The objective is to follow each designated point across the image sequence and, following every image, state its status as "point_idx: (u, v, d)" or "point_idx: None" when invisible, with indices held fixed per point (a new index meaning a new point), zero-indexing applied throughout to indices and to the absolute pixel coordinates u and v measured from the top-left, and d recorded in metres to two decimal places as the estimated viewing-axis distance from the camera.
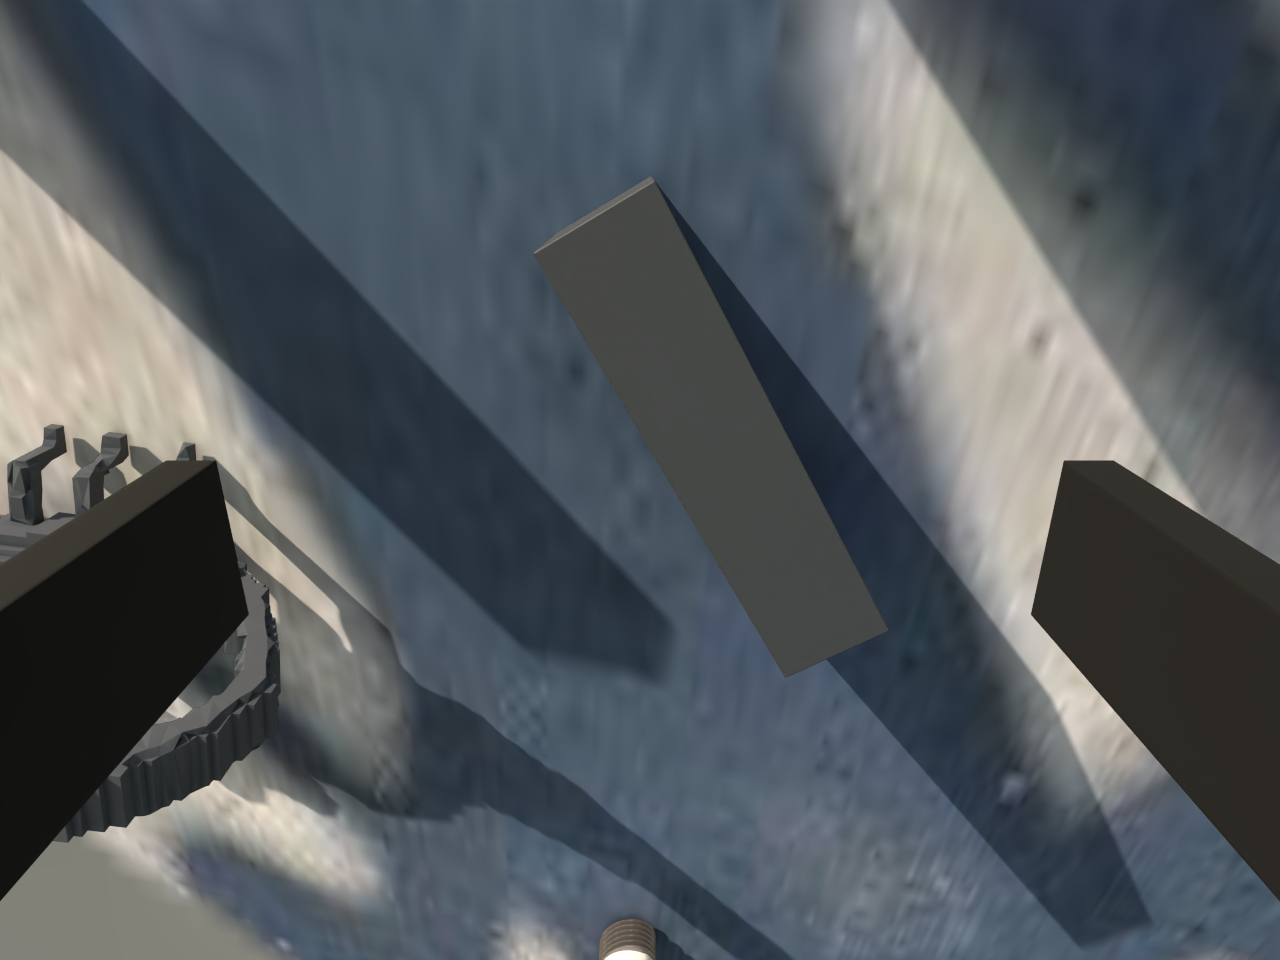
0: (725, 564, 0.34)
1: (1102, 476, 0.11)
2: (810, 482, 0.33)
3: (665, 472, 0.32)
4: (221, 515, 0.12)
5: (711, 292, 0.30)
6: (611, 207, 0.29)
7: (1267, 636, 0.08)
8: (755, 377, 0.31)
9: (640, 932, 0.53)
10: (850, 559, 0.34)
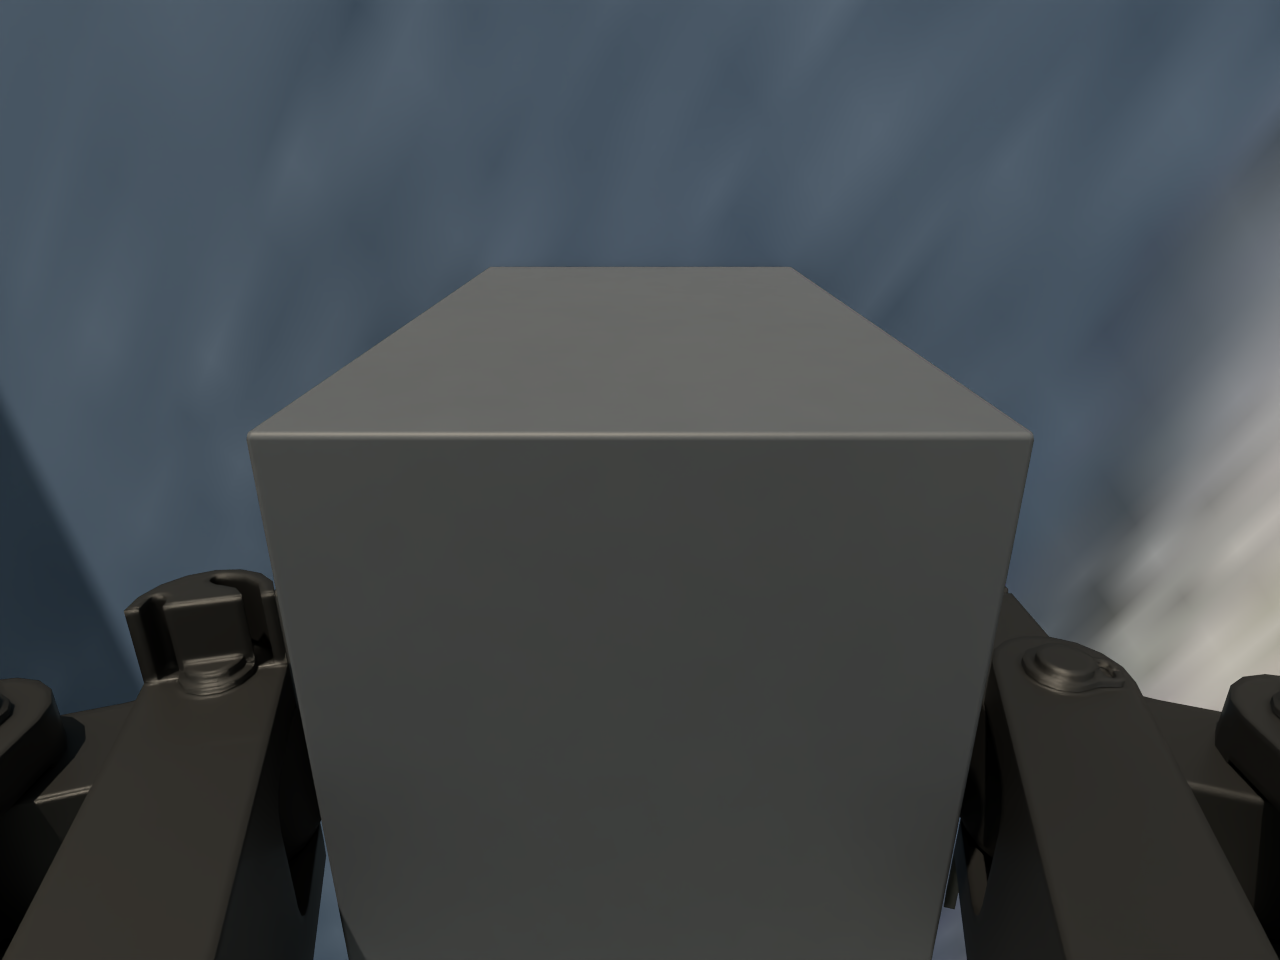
0: None
1: None
2: None
3: None
4: None
5: (932, 929, 0.07)
6: (758, 439, 0.05)
7: None
8: None
9: None
10: None
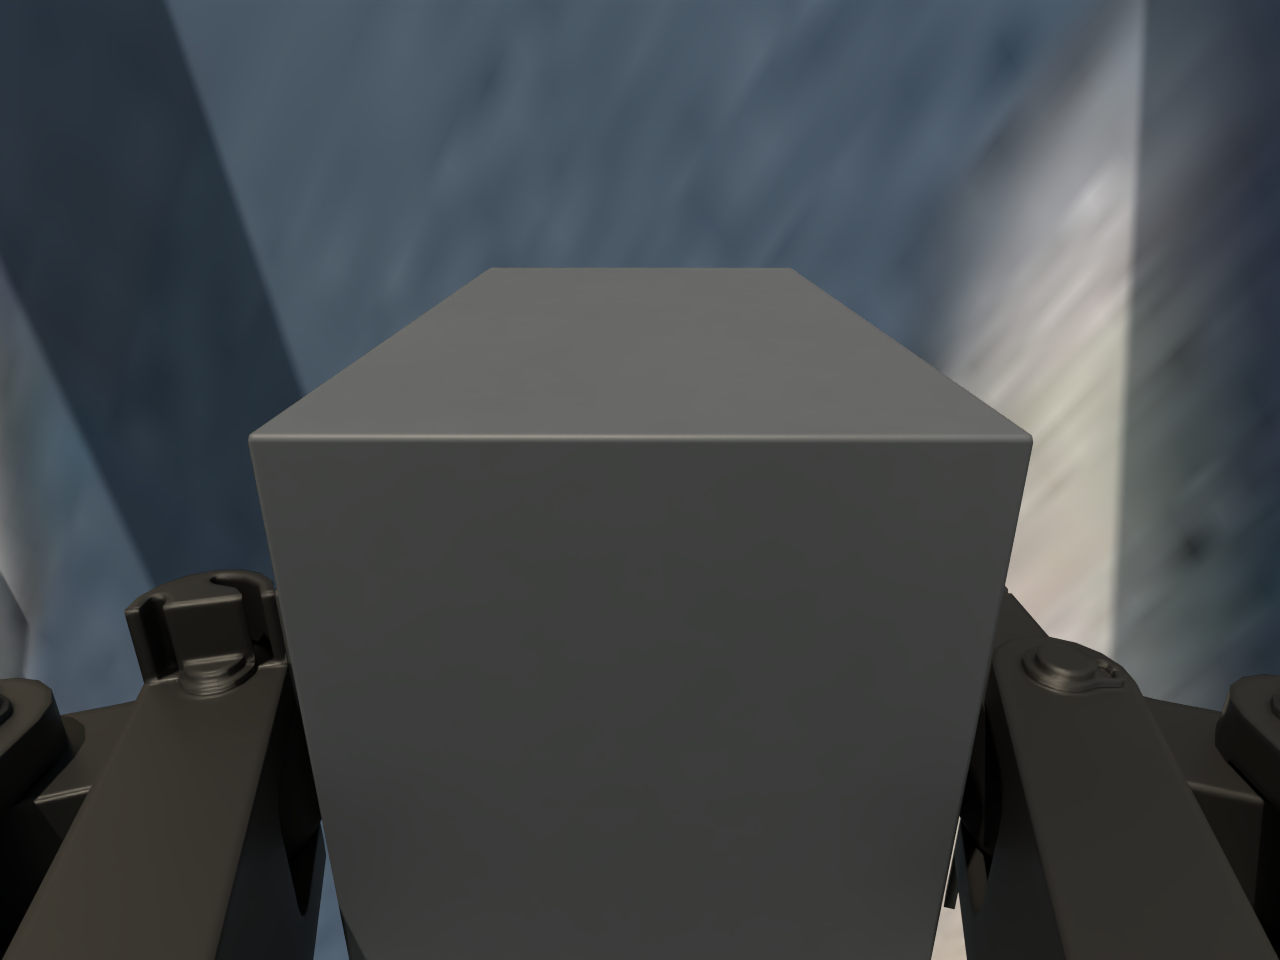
0: None
1: None
2: None
3: None
4: None
5: (931, 929, 0.07)
6: (757, 441, 0.05)
7: None
8: None
9: None
10: None
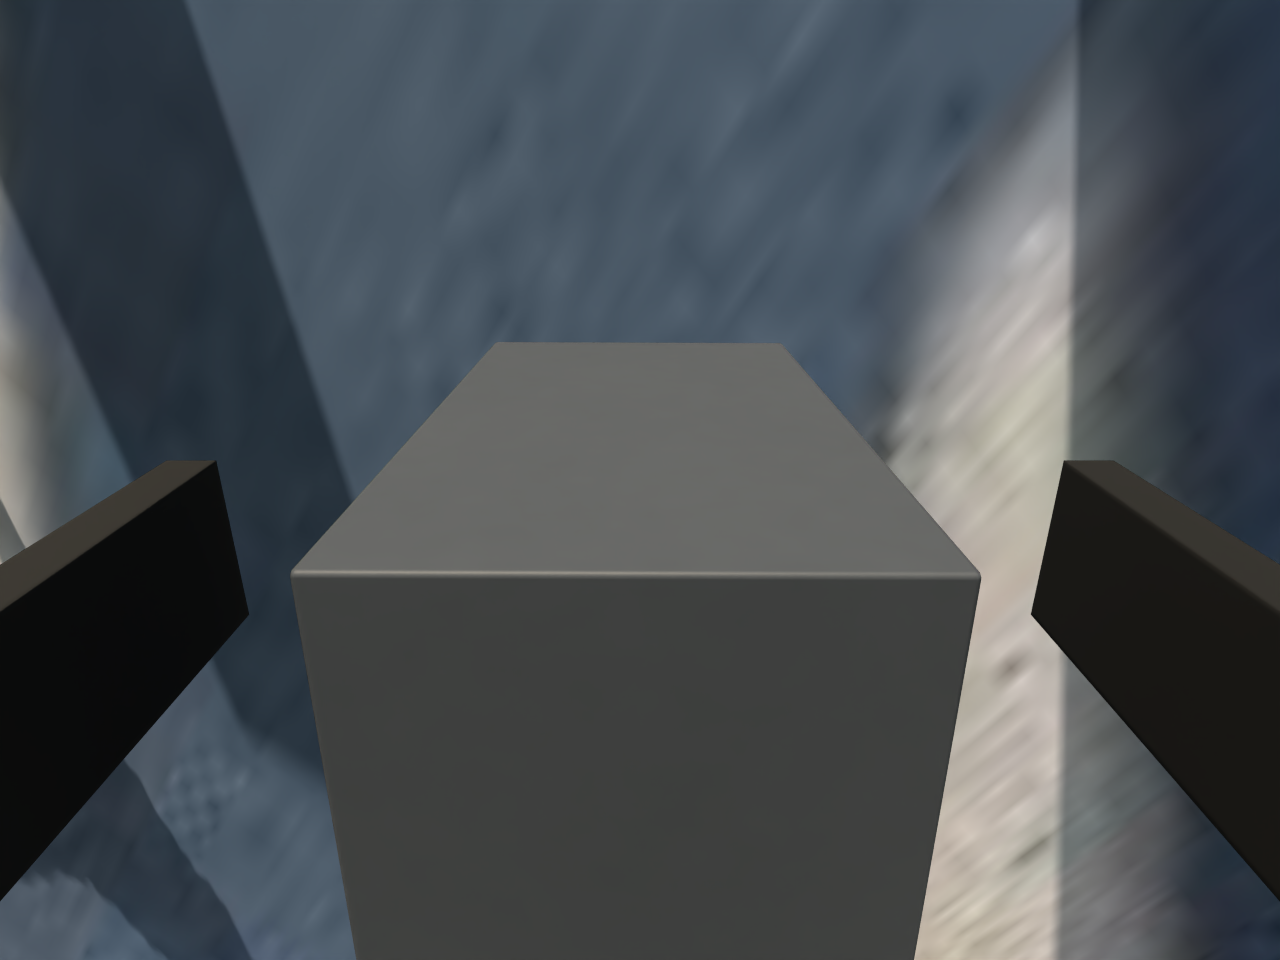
0: None
1: (1102, 476, 0.11)
2: None
3: None
4: (222, 515, 0.12)
5: None
6: (738, 578, 0.06)
7: (1267, 636, 0.08)
8: None
9: None
10: None
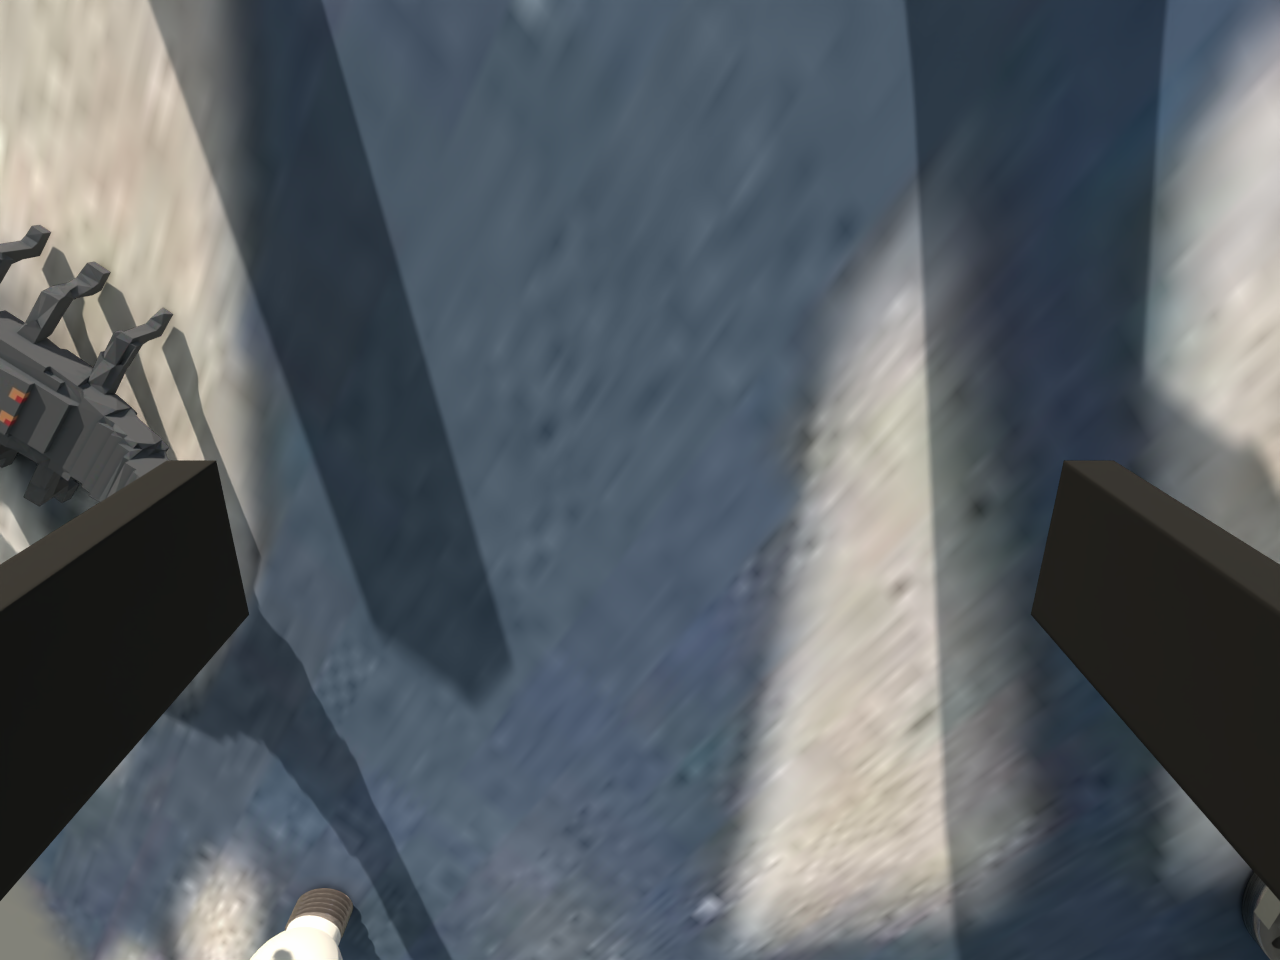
0: None
1: (1102, 476, 0.11)
2: None
3: None
4: (221, 515, 0.12)
5: None
6: None
7: (1268, 636, 0.08)
8: None
9: (341, 905, 0.56)
10: None
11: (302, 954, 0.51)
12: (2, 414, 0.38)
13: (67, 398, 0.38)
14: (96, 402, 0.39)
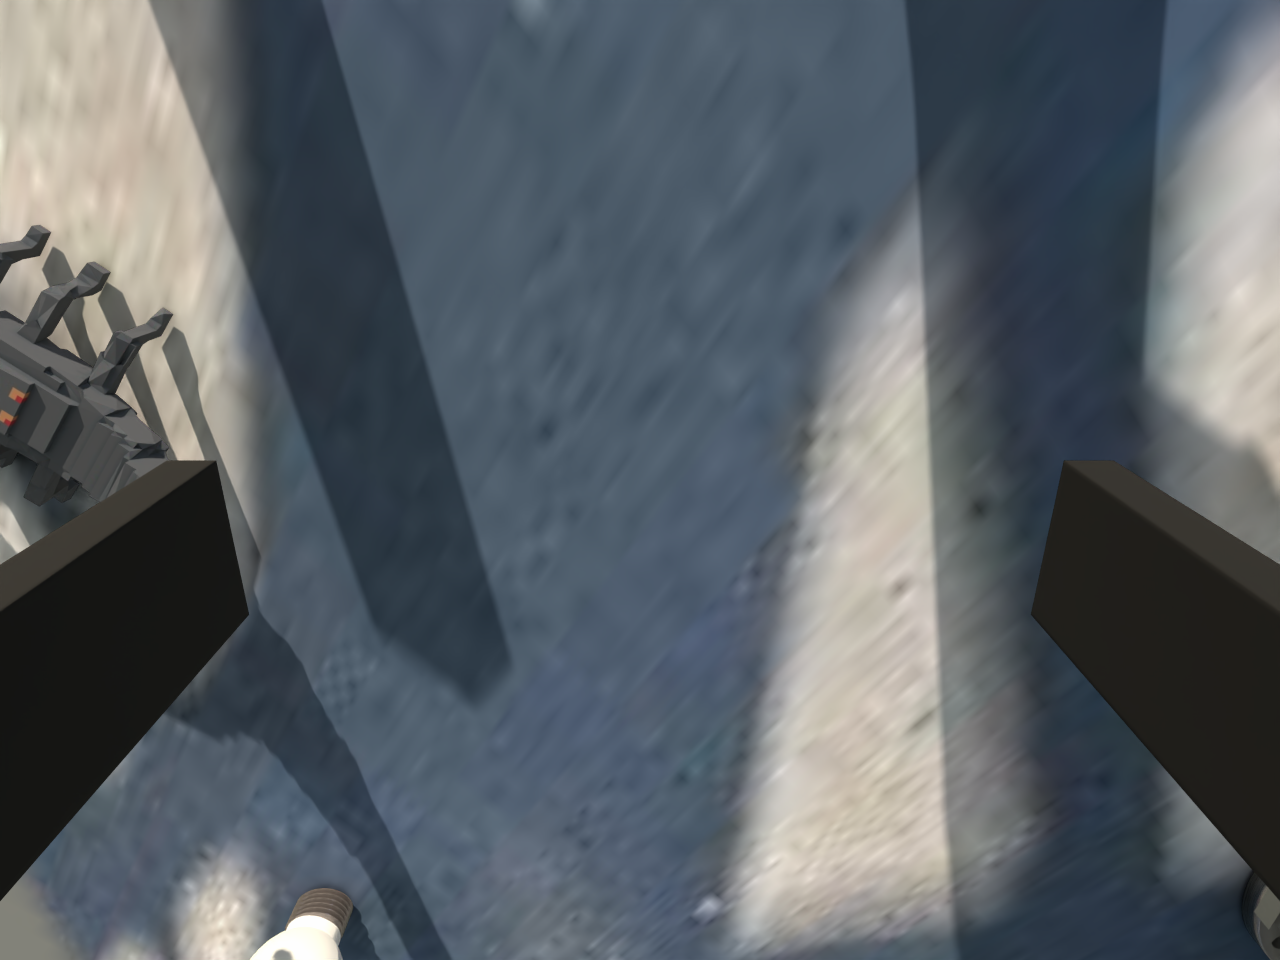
0: None
1: (1102, 476, 0.11)
2: None
3: None
4: (221, 515, 0.12)
5: None
6: None
7: (1268, 636, 0.08)
8: None
9: (341, 905, 0.56)
10: None
11: (302, 954, 0.51)
12: (2, 414, 0.38)
13: (67, 398, 0.38)
14: (96, 402, 0.39)
